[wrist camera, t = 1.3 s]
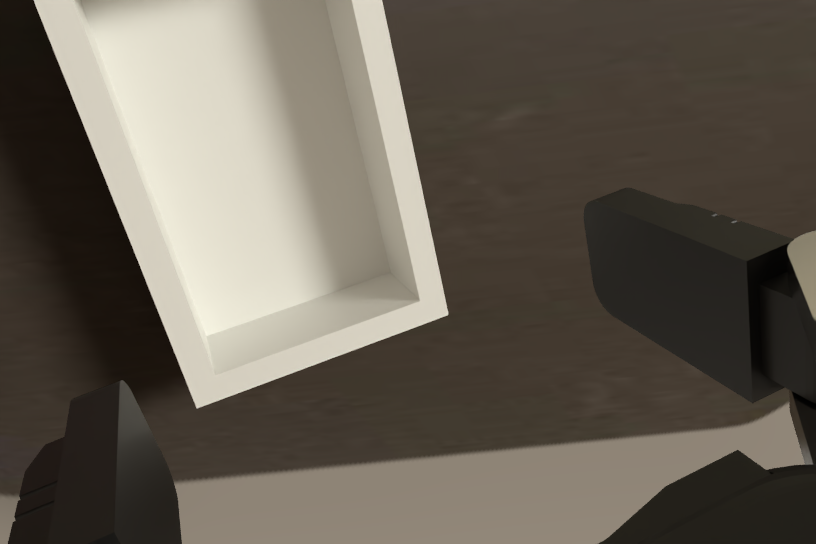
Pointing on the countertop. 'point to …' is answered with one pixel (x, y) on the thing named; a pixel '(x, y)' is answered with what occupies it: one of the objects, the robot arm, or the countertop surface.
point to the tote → (255, 175)
